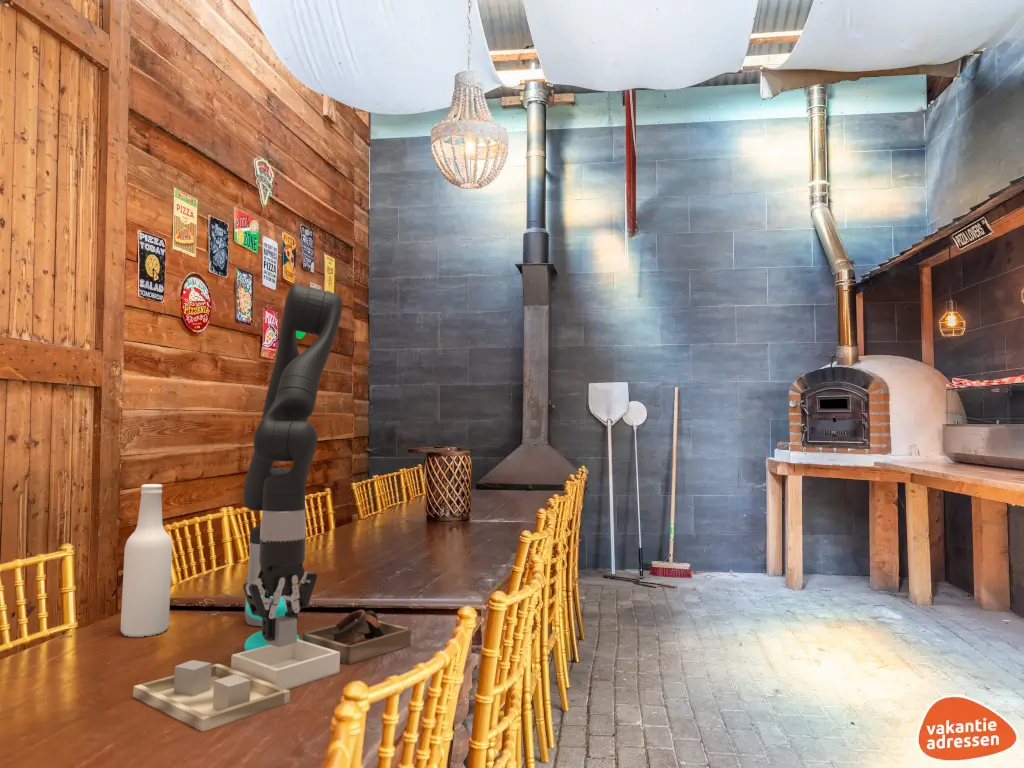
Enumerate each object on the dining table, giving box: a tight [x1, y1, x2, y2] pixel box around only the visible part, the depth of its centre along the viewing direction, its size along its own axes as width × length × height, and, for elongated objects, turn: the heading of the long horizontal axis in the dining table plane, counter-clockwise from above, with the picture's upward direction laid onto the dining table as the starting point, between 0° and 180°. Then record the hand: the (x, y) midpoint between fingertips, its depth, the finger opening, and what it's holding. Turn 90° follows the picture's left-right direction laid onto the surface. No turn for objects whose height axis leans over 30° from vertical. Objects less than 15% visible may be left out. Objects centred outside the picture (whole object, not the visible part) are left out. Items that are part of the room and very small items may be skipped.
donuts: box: [244, 595, 301, 651], centre depth 135 cm, size 10×10×10 cm
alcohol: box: [120, 483, 173, 638], centre depth 147 cm, size 9×9×30 cm
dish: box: [230, 639, 341, 690], centre depth 121 cm, size 13×13×4 cm
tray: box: [132, 663, 291, 733], centre depth 109 cm, size 20×14×2 cm
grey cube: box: [265, 615, 298, 647], centre depth 123 cm, size 4×4×4 cm
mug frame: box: [302, 619, 412, 665], centre depth 138 cm, size 14×16×3 cm
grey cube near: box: [213, 674, 251, 711], centre depth 106 cm, size 4×4×4 cm
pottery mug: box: [332, 609, 384, 644], centre depth 138 cm, size 12×10×8 cm
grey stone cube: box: [174, 659, 213, 696], centre depth 112 cm, size 4×4×4 cm
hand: (279, 636), depth 123 cm, fingers closed on grey cube, 3 cm apart
